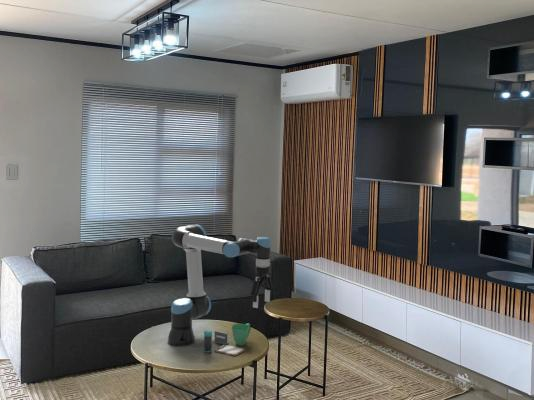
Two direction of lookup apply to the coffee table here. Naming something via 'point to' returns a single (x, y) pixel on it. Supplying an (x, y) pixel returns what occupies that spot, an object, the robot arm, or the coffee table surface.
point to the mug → (241, 333)
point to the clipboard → (230, 350)
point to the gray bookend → (220, 338)
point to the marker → (207, 342)
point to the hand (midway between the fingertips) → (261, 304)
